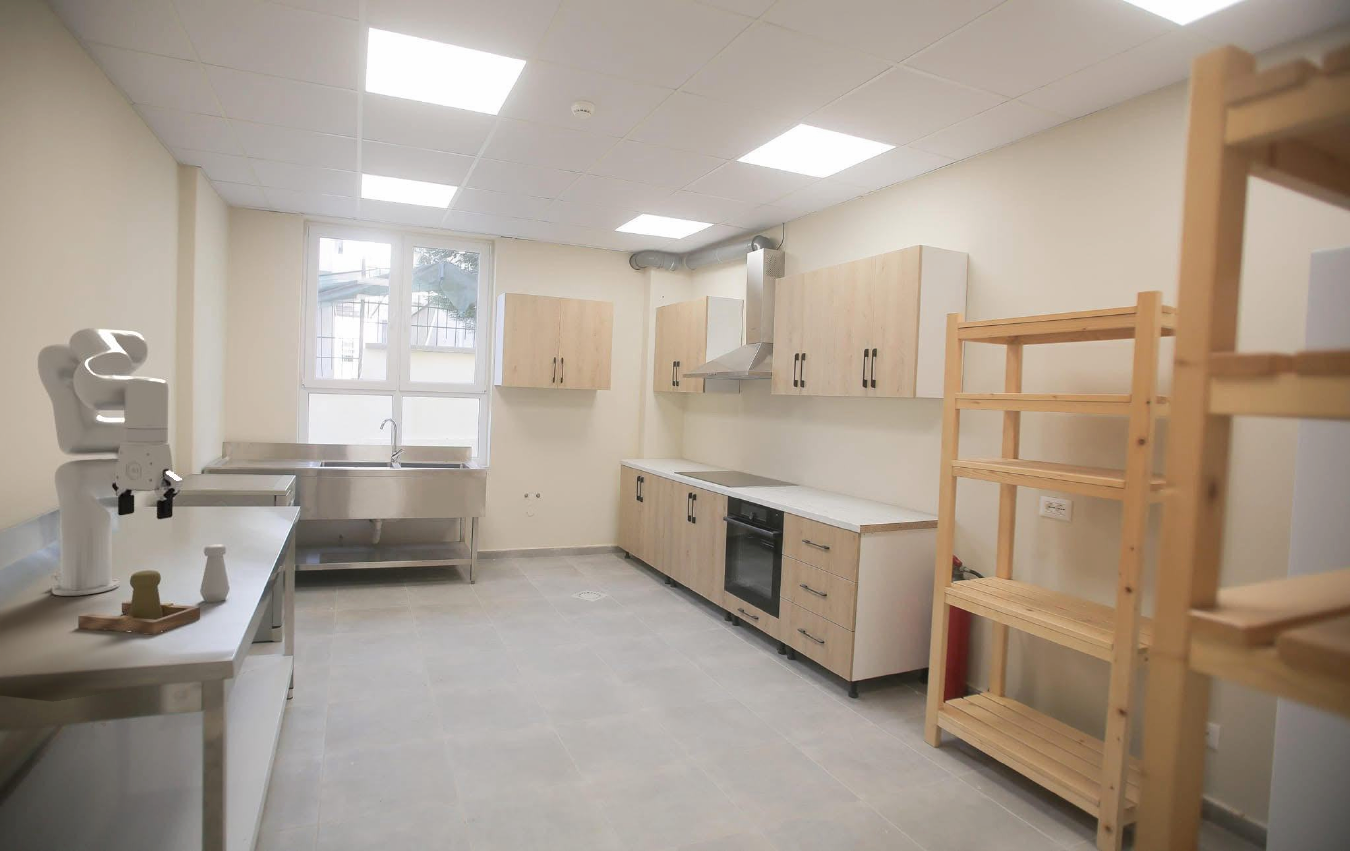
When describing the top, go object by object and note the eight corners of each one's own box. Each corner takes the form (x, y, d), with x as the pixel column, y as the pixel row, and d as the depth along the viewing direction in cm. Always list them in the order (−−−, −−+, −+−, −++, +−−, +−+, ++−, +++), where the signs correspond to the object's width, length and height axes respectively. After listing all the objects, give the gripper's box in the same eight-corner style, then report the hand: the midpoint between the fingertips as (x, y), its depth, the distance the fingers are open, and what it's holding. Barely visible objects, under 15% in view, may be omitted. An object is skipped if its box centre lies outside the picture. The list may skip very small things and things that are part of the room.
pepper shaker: (139, 619, 152) (139, 567, 152) (169, 618, 153) (169, 567, 153) (120, 628, 146) (120, 574, 146) (151, 627, 147) (151, 574, 147)
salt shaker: (214, 604, 164) (214, 548, 163) (193, 602, 165) (193, 546, 165) (235, 597, 170) (235, 543, 169) (214, 595, 171) (214, 541, 170)
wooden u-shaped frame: (78, 627, 146) (78, 614, 146) (128, 612, 157) (128, 599, 157) (154, 634, 143) (154, 620, 143) (200, 618, 154) (200, 605, 154)
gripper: (94, 434, 149) (94, 515, 150) (165, 440, 146) (164, 522, 147) (128, 432, 157) (127, 510, 158) (196, 438, 154) (194, 516, 154)
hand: (145, 516), depth 152 cm, fingers open, 9 cm apart
